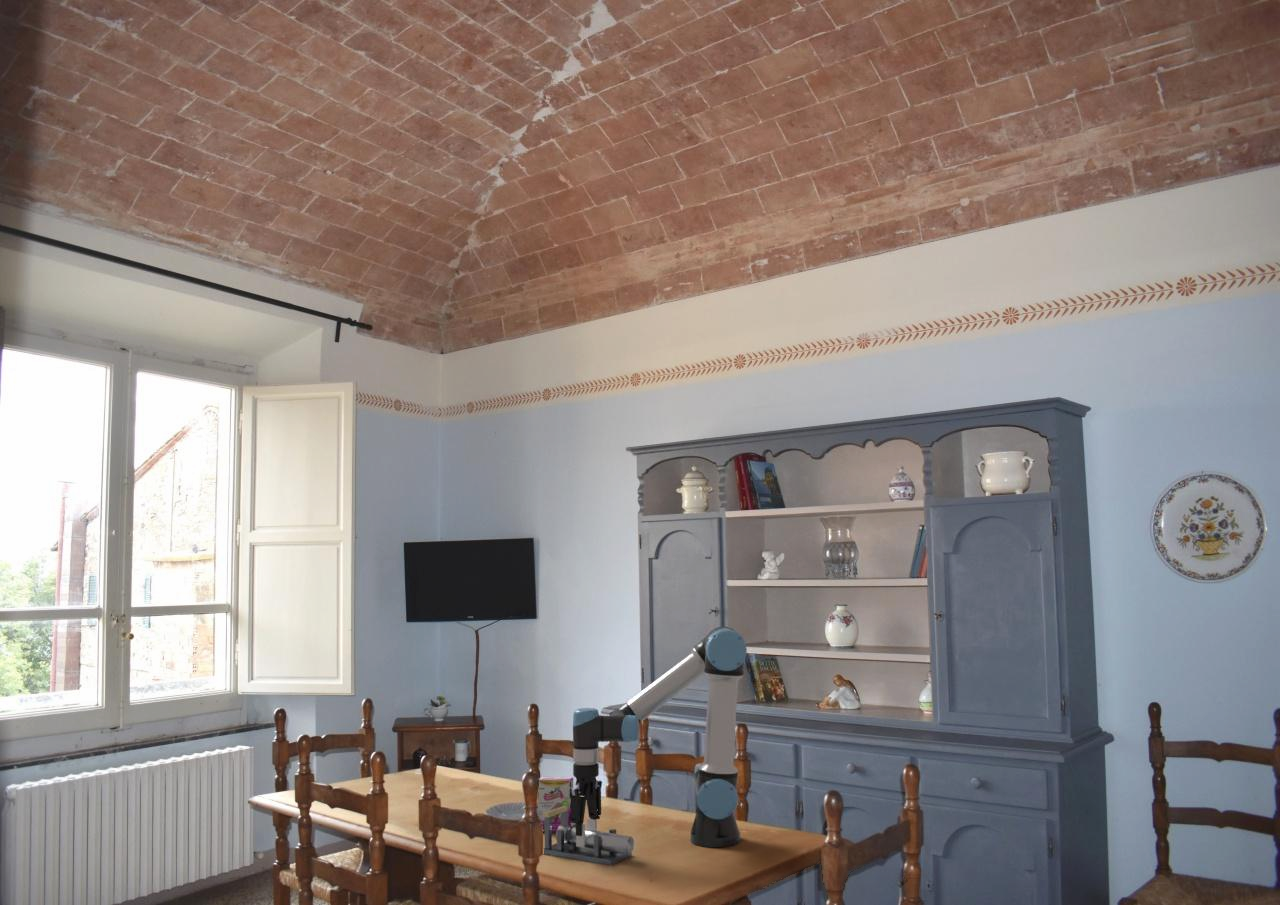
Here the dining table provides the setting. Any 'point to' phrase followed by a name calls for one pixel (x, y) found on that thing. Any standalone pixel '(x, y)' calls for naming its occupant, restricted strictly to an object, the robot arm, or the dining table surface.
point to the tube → (608, 840)
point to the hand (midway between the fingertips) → (586, 844)
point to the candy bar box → (554, 798)
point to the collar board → (571, 850)
